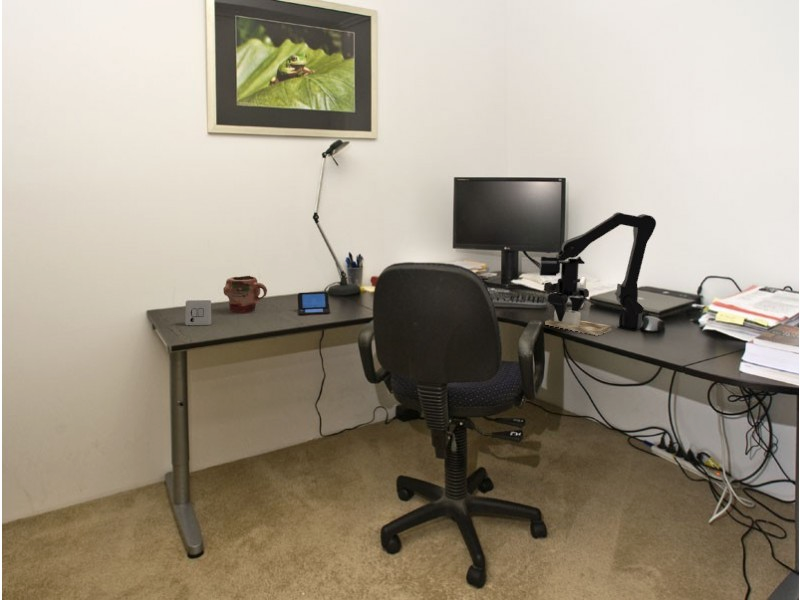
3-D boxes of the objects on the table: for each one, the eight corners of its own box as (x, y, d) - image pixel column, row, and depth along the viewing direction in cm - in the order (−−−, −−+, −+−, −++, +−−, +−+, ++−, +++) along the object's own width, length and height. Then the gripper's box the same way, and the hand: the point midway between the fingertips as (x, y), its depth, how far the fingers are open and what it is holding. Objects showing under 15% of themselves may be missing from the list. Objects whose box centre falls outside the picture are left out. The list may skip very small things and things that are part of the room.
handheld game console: (298, 316, 221) (297, 298, 219) (298, 310, 231) (297, 292, 230) (330, 314, 223) (329, 296, 221) (328, 308, 233) (328, 291, 232)
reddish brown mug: (275, 308, 233) (273, 275, 231) (262, 315, 222) (260, 280, 219) (232, 306, 238) (229, 274, 235) (216, 313, 226) (214, 279, 223)
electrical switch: (184, 326, 207) (183, 301, 206) (190, 323, 212) (188, 299, 211) (210, 325, 207) (209, 300, 206) (214, 323, 212) (213, 299, 211)
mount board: (611, 330, 195) (611, 324, 194) (597, 336, 188) (597, 330, 188) (560, 320, 209) (560, 315, 208) (545, 325, 202) (545, 320, 202)
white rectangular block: (579, 325, 200) (580, 311, 199) (573, 327, 197) (574, 313, 196) (559, 321, 206) (560, 307, 205) (553, 323, 203) (554, 309, 202)
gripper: (563, 270, 210) (561, 311, 213) (534, 276, 197) (533, 319, 201) (590, 273, 202) (588, 316, 205) (562, 280, 189) (560, 325, 193)
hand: (567, 319), depth 201 cm, fingers open, 9 cm apart
